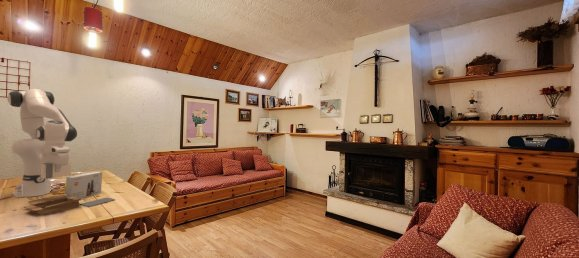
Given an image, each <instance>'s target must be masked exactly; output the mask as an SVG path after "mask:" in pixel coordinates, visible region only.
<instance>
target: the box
mask: <svg viewBox="0 0 579 258" xmlns="http://www.w3.org/2000/svg"><path fill="white" fill-rule="evenodd" d="M55 169H56V165H55V164H50V163H43V164H41V178H44V179H48V180H49V179H53V178H60V177H69V176H72V162H71V161H68V164H67V165H62V166H61V168H60V172H55Z"/></svg>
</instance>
